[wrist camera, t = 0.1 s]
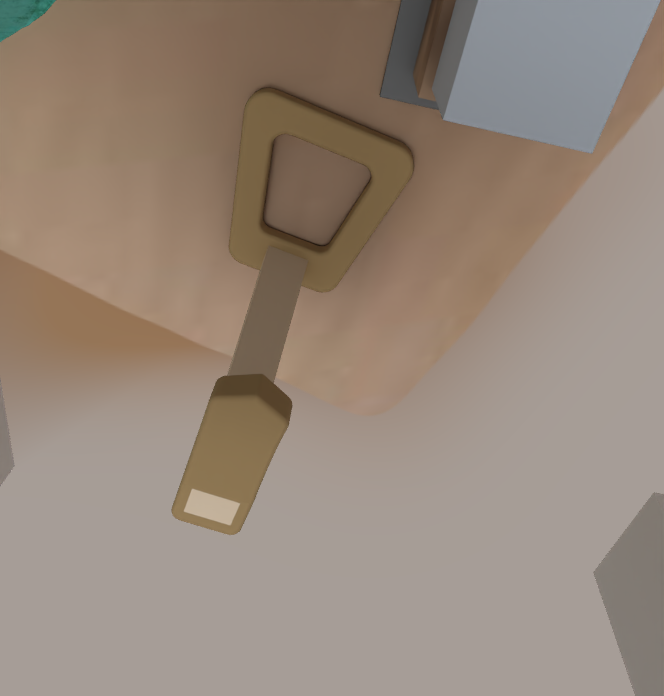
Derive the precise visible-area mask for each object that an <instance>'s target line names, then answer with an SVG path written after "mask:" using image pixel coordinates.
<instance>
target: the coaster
mask: <svg viewBox="0 0 664 696" xmlns="http://www.w3.org/2000/svg"><path fill="white" fill-rule="evenodd" d="M430 4H431V0H402V1H401V5H400V9H399V14H398V18H397V22H396V27H395V31H394V36H393V40H392V44H391V49H390V53H389V57H388V62H387V66H386V71H385V75H384V79H383V84H382V88H381V93H380V97H384V98H388V99H392V100H397V101H401V102H406V103H410V104H415V105H419V106H424V107H428V108H432V109H437V110H439V107H438V105H437V102H436V101H432V100H427V99H423V98H419V97H418V94H417V90H416V86H415V82H414V78H413V71H414V67H415V63H416V59H417V55H418V51H419V48H420V44H421V40H422V36H423V32H424V28H425V24H426V20H427V16H428V12H429V8H430Z"/></svg>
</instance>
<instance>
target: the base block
mask: <svg viewBox="0 0 664 696" xmlns="http://www.w3.org/2000/svg"><path fill="white" fill-rule="evenodd" d="M455 2H456V0H431V4H430V8H429V12H428V16H427V20H426V24H425V28H424V32H423V36H422V40H421V44H420V48H419V51H418V55H417V59H416V63H415V67H414V71H413V78H414V82H415V86H416V90H417V94H418V97H419V98H423V99H427V100H432V101H436V99H435V96H434V94H433V91H432V86H433V82H434V79H435V75H436V71H437V68H438V64H439V60H440V57H441V53H442V50H443V46H444V42H445V39H446V35H447V31H448V28H449V24H450V20H451V17H452V13H453V9H454V6H455Z"/></svg>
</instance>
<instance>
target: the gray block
mask: <svg viewBox="0 0 664 696" xmlns="http://www.w3.org/2000/svg"><path fill="white" fill-rule="evenodd" d="M660 1H661V0H456V2H455V6H454V9H453V13H452V17H451V20H450V24H449V28H448V31H447V35H446V39H445V42H444V46H443V50H442V53H441V57H440V60H439V64H438V68H437V71H436V75H435V79H434V82H433V86H432V91H433V94H434V96H435V99H436V102H437V105H438V107H439V110H440V113H441V116H442V119H443V120H445V121H449V122H454V123H458V124H463V125H467V126H472V127H476V128H481V129H485V130H489V131H494V132H498V133H503V134H507V135H512V136H516V137H521V138H525V139H529V140H534V141H538V142H543V143H547V144H552V145H556V146H561V147H565V148H569V149H574V150H578V151H583V152H587V153H593V150H594V148H595V146H596V144H597V141H598V139H599V137H600V135H601V133H602V130H603V128H604V126H605V124H606V121H607V119H608V117H609V115H610V112H611V110H612V108H613V106H614V103H615V101H616V99H617V97H618V95H619V92H620V90H621V88H622V86H623V83H624V81H625V79H626V77H627V74H628V72H629V70H630V68H631V65H632V63H633V61H634V59H635V57H636V54H637V52H638V50H639V48H640V45H641V43H642V41H643V39H644V36H645V34H646V32H647V30H648V27H649V25H650V23H651V21H652V19H653V16H654V14H655V12H656V10H657V7H658V5H659V3H660Z"/></svg>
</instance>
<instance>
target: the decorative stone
mask: <svg viewBox="0 0 664 696" xmlns="http://www.w3.org/2000/svg"><path fill="white" fill-rule="evenodd" d="M55 1H56V0H0V42H1V41H2V40H4V39H5V38H7V37H9V36H11V35H13V34H14V33H16V32H17V31H19V30H20V29H22V28H23V27H26V26H28V25H30V24H31V23H32V22H33V21H35V20H36V19H37V18H39V17H40V16H42V15H43V14H45V12H46V11H47V10H48V9H49V8H50V7H51V5H52V4H53V3H54V2H55Z"/></svg>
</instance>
